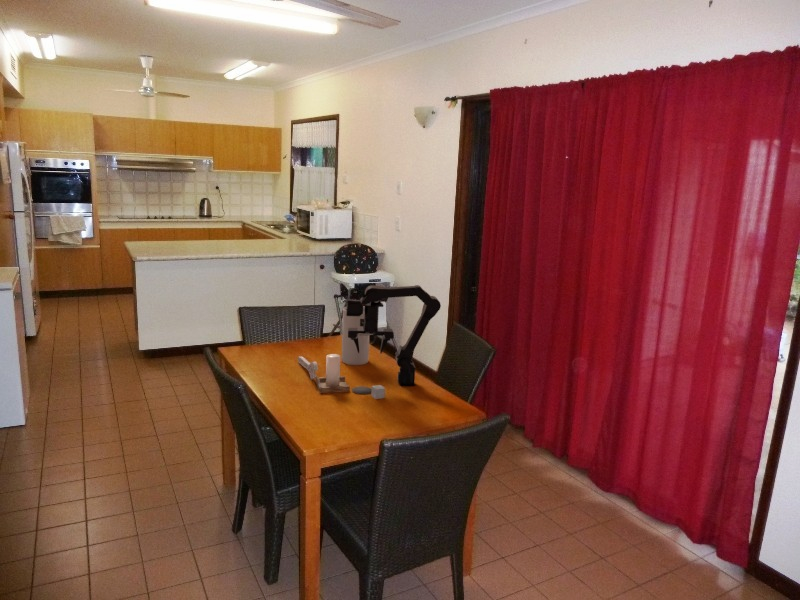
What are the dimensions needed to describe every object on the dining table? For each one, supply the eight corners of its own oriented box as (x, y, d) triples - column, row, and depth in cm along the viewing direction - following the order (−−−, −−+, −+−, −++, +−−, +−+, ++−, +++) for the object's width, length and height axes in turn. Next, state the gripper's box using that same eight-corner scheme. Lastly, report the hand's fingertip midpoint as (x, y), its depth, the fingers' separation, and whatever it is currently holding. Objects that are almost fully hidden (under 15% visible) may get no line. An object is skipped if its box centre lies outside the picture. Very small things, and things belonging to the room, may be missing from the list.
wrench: (301, 367, 264) (318, 382, 237) (298, 368, 264) (314, 382, 236) (301, 350, 264) (318, 363, 236) (297, 350, 263) (313, 363, 235)
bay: (344, 381, 243) (344, 376, 242) (349, 391, 231) (349, 386, 231) (315, 382, 239) (316, 377, 239) (319, 392, 228) (319, 387, 228)
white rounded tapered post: (341, 384, 237) (342, 355, 234) (336, 388, 232) (336, 359, 229) (329, 382, 239) (329, 353, 236) (323, 386, 233) (324, 357, 231)
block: (380, 394, 230) (381, 384, 229) (384, 398, 227) (385, 388, 226) (371, 395, 228) (371, 386, 228) (375, 399, 225) (375, 389, 224)
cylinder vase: (373, 363, 267) (375, 310, 262) (349, 367, 260) (351, 313, 255) (359, 355, 277) (361, 305, 272) (336, 359, 270) (338, 307, 265)
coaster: (371, 387, 237) (371, 386, 237) (372, 394, 229) (372, 393, 229) (352, 387, 236) (352, 386, 236) (352, 394, 228) (352, 393, 228)
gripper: (392, 312, 245) (390, 347, 248) (348, 311, 243) (346, 347, 246) (394, 319, 234) (392, 355, 237) (348, 318, 232) (347, 355, 235)
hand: (369, 353), depth 239 cm, fingers open, 9 cm apart
